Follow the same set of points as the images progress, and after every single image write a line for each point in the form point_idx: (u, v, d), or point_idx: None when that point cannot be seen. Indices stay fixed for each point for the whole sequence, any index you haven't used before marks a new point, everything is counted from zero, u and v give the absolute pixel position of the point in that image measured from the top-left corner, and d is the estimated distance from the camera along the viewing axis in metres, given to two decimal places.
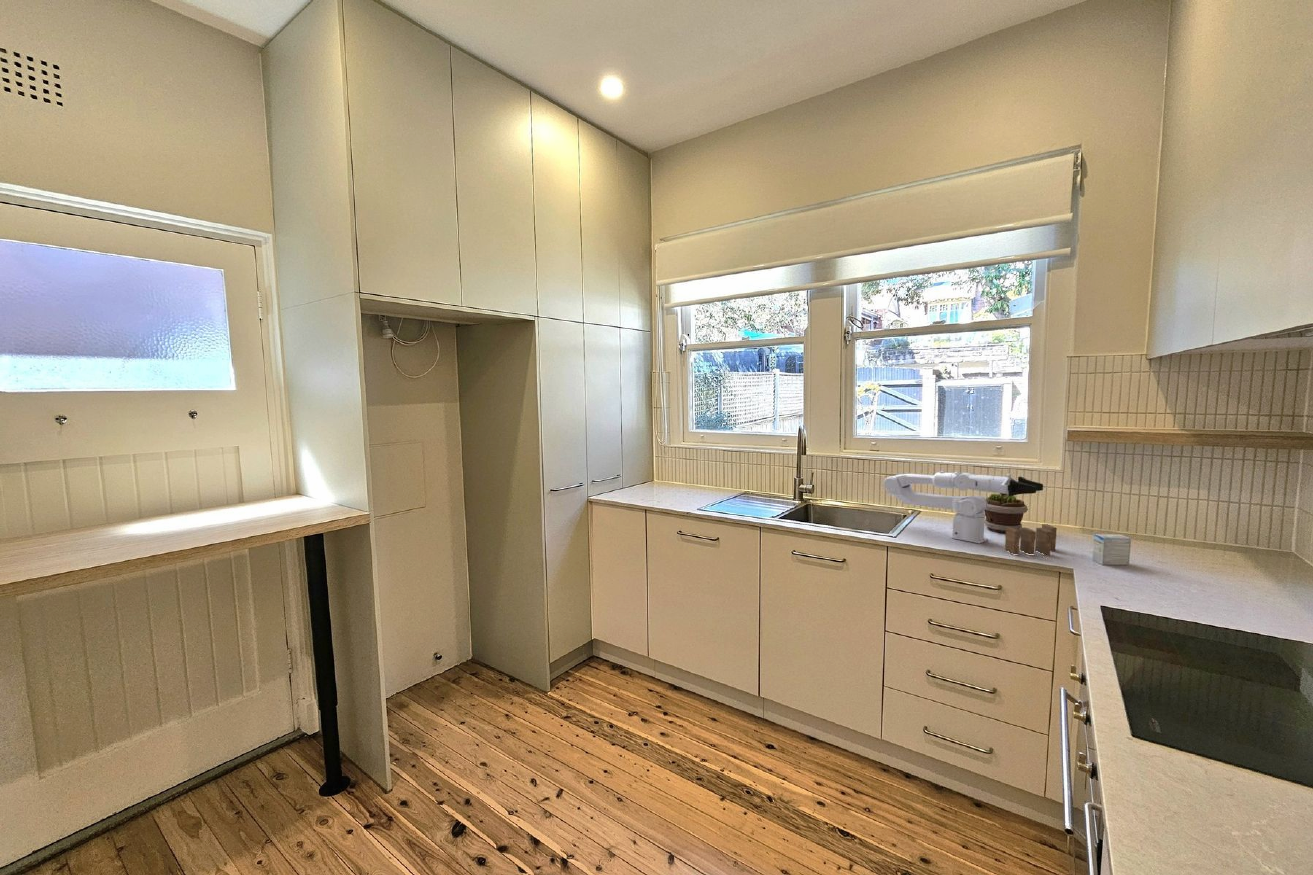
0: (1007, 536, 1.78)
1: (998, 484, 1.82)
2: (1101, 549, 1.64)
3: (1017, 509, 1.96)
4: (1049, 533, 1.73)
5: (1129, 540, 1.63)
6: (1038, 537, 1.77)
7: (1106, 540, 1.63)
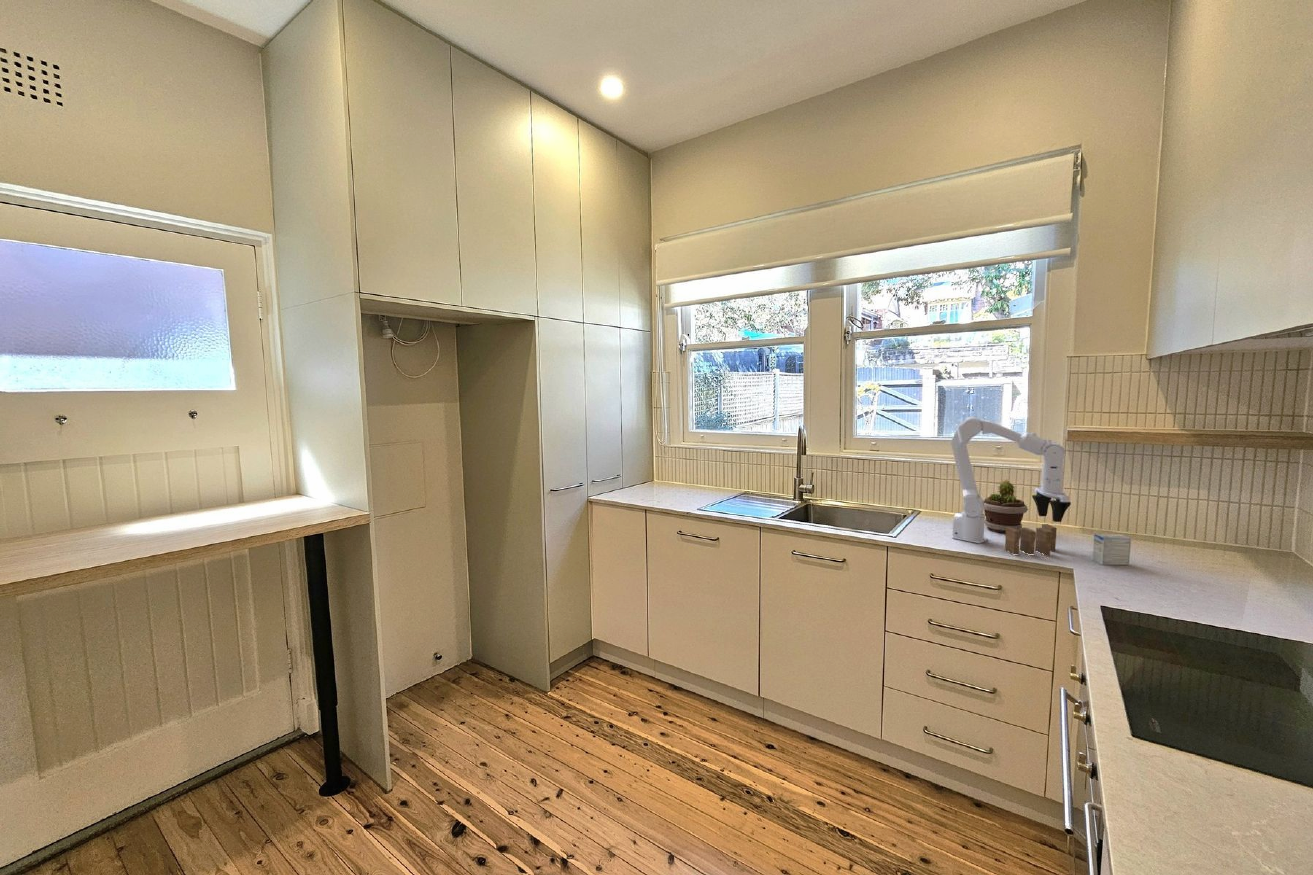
0: (1007, 536, 1.78)
1: (1058, 488, 1.76)
2: (1101, 549, 1.64)
3: (1017, 509, 1.96)
4: (1049, 533, 1.73)
5: (1129, 540, 1.63)
6: (1038, 537, 1.77)
7: (1106, 540, 1.63)
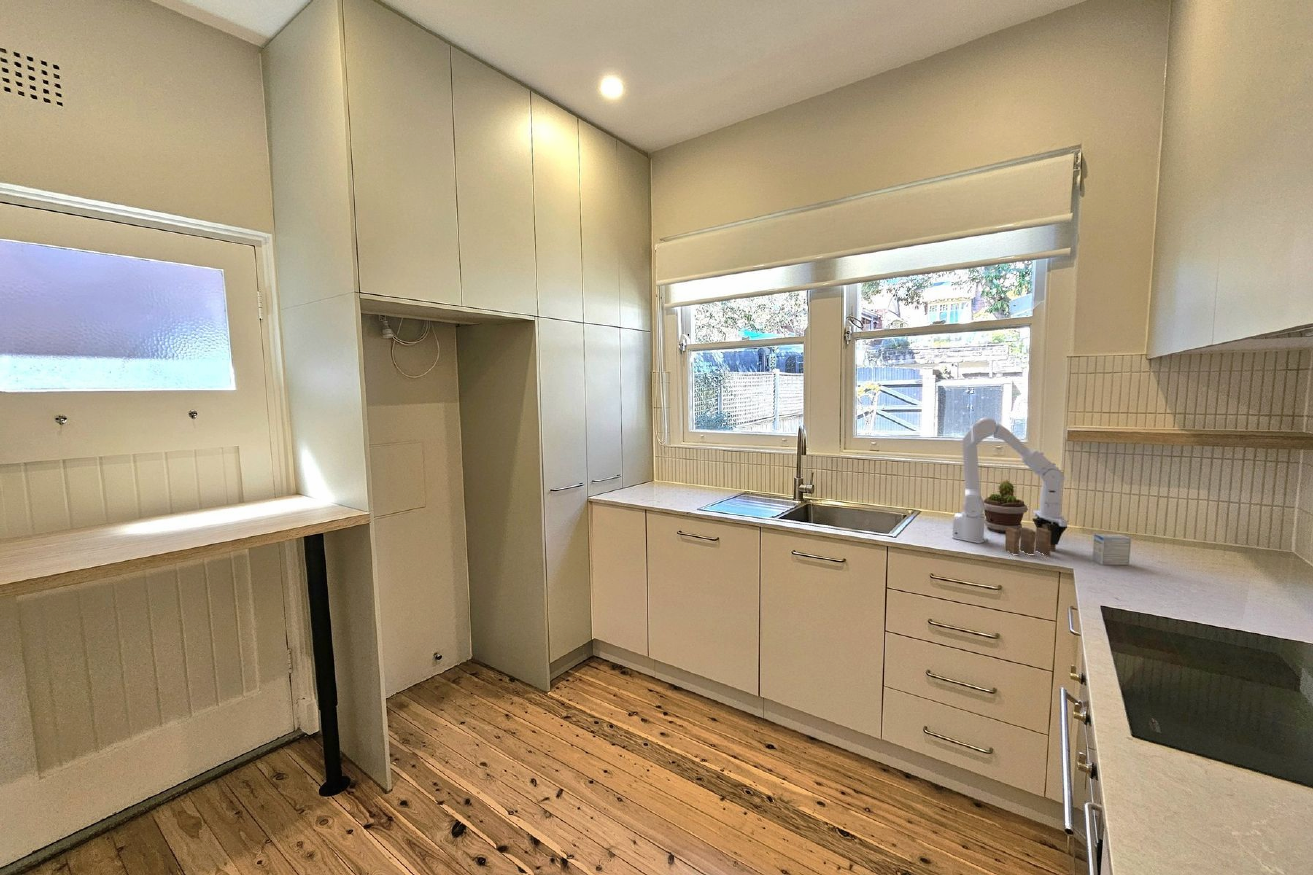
0: (1007, 536, 1.78)
1: (1057, 511, 1.77)
2: (1101, 549, 1.64)
3: (1017, 509, 1.96)
4: (1049, 533, 1.73)
5: (1129, 540, 1.63)
6: (1038, 537, 1.77)
7: (1106, 540, 1.64)
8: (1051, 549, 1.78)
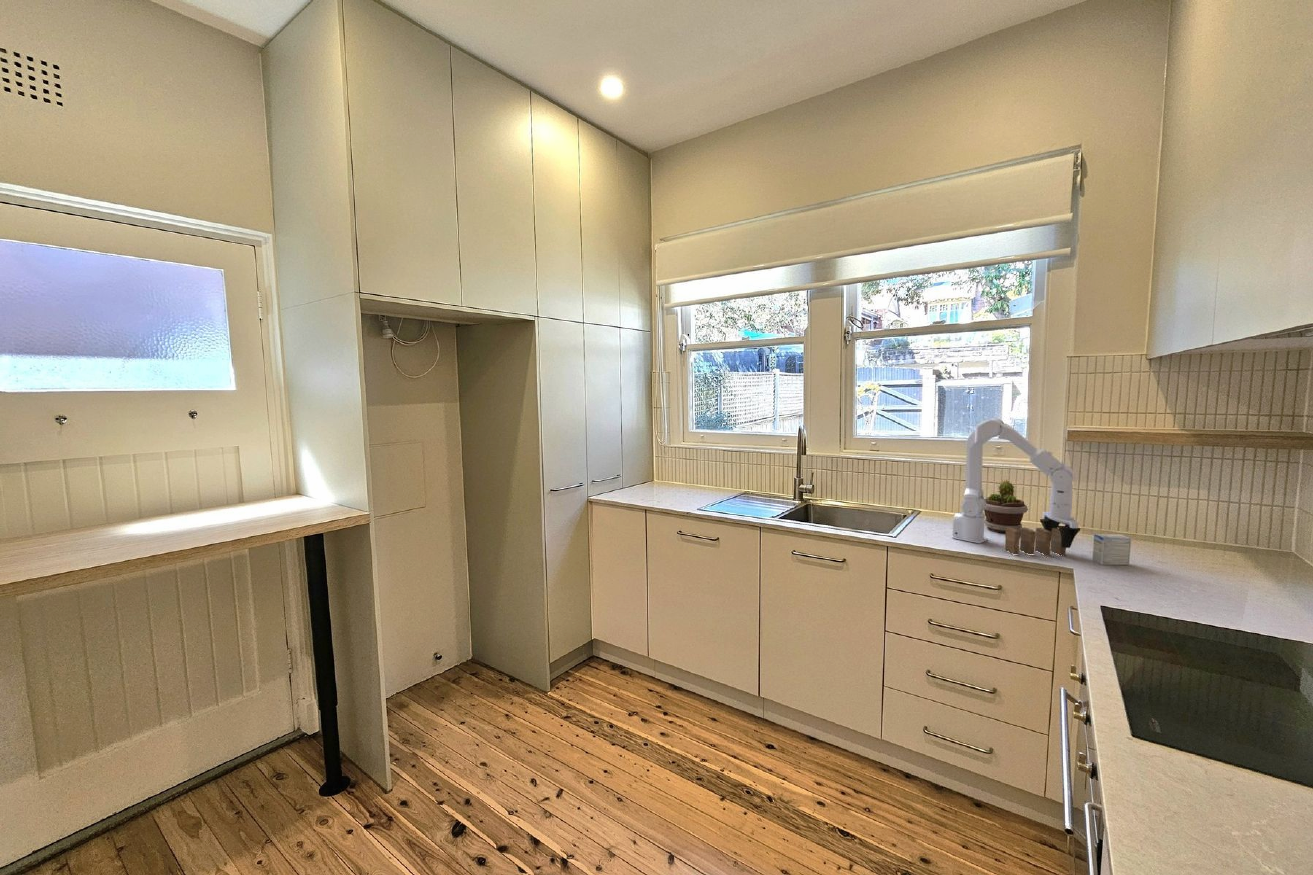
0: (1007, 536, 1.78)
1: (1067, 513, 1.72)
2: (1101, 549, 1.64)
3: (1017, 509, 1.96)
4: (1049, 533, 1.73)
5: (1129, 540, 1.63)
6: (1038, 537, 1.77)
7: (1106, 540, 1.64)
8: (1061, 554, 1.73)
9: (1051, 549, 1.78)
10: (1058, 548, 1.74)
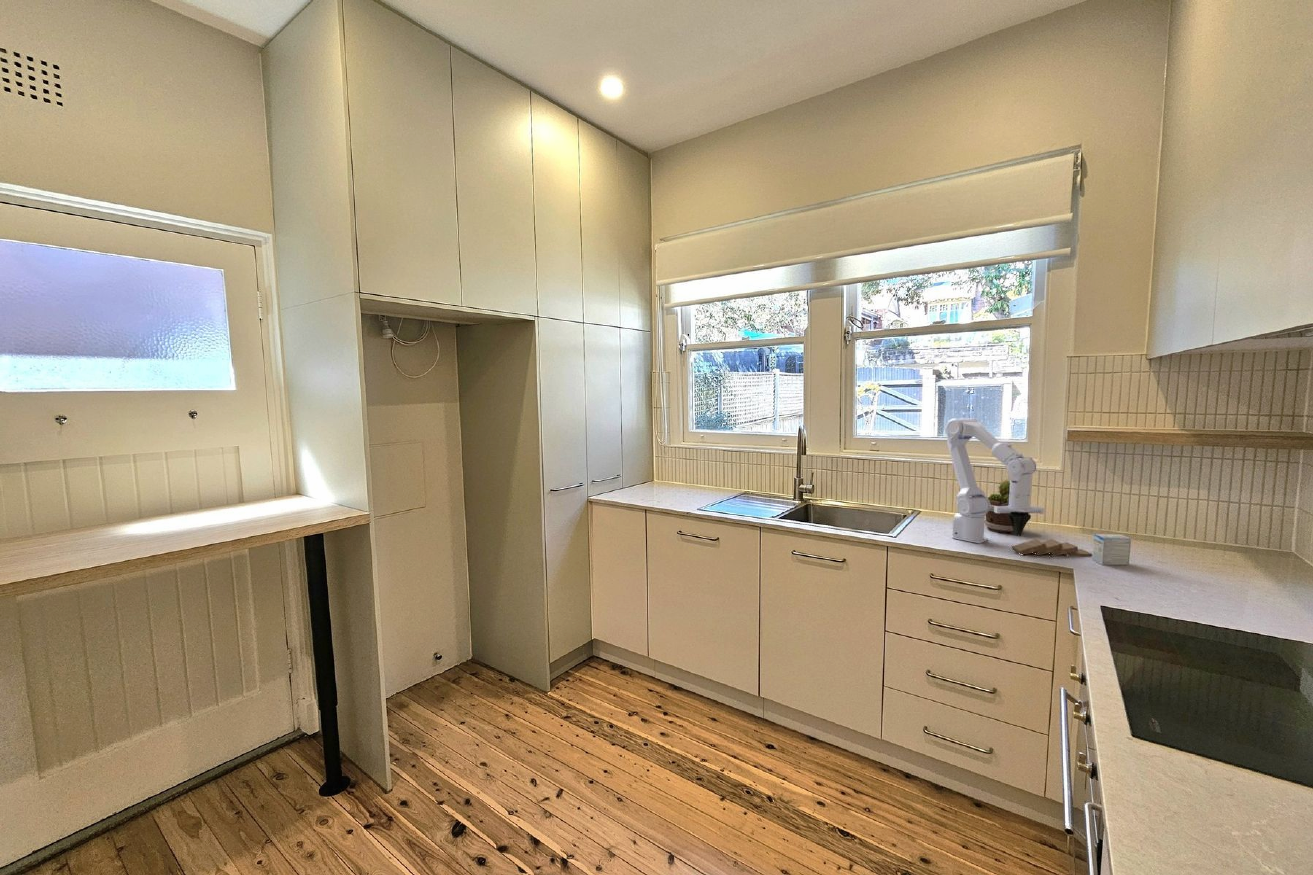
0: (1029, 542, 1.77)
1: (1011, 501, 1.75)
2: (1101, 549, 1.64)
3: None
4: (1076, 550, 1.73)
5: (1129, 540, 1.63)
6: None
7: (1106, 540, 1.63)
8: (1068, 554, 1.73)
9: None
10: (1072, 552, 1.74)
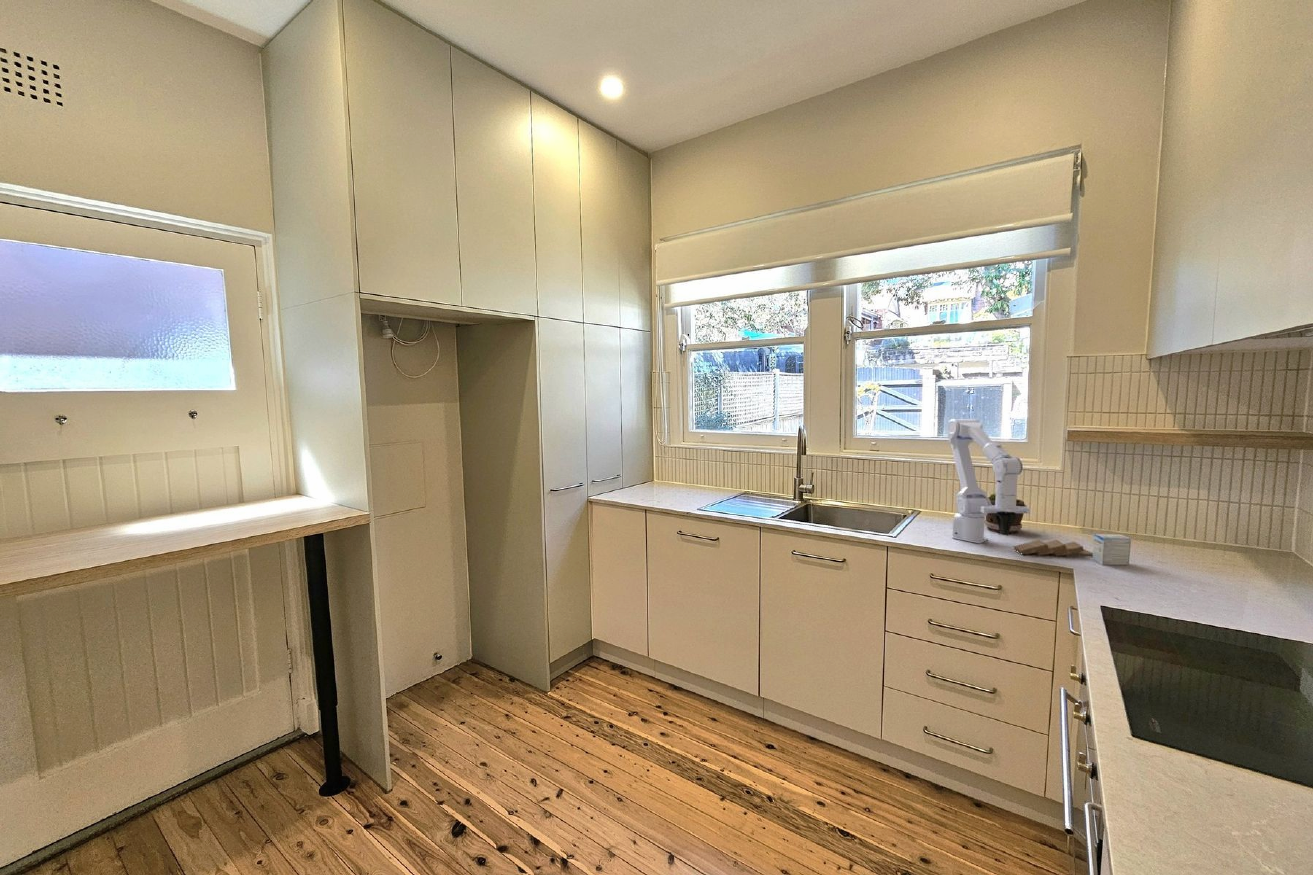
0: (1031, 542, 1.77)
1: (997, 501, 1.75)
2: (1101, 549, 1.64)
3: None
4: (1081, 550, 1.71)
5: (1129, 540, 1.63)
6: (1066, 544, 1.75)
7: (1106, 540, 1.63)
8: (1069, 554, 1.73)
9: None
10: None
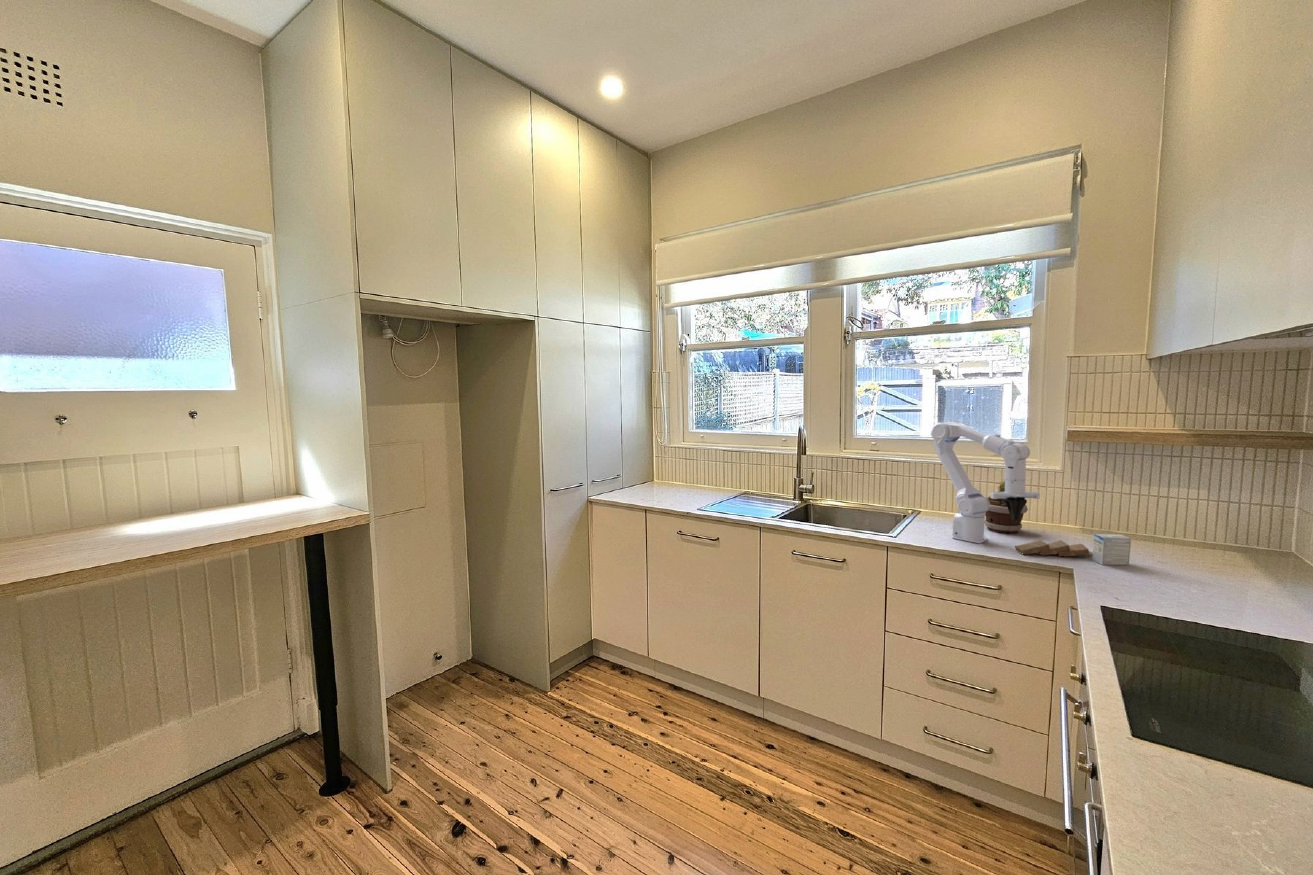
0: (1032, 543, 1.77)
1: (1006, 487, 1.78)
2: (1101, 549, 1.64)
3: None
4: (1086, 552, 1.70)
5: (1129, 540, 1.63)
6: (1072, 546, 1.74)
7: (1106, 540, 1.64)
8: None
9: None
10: None
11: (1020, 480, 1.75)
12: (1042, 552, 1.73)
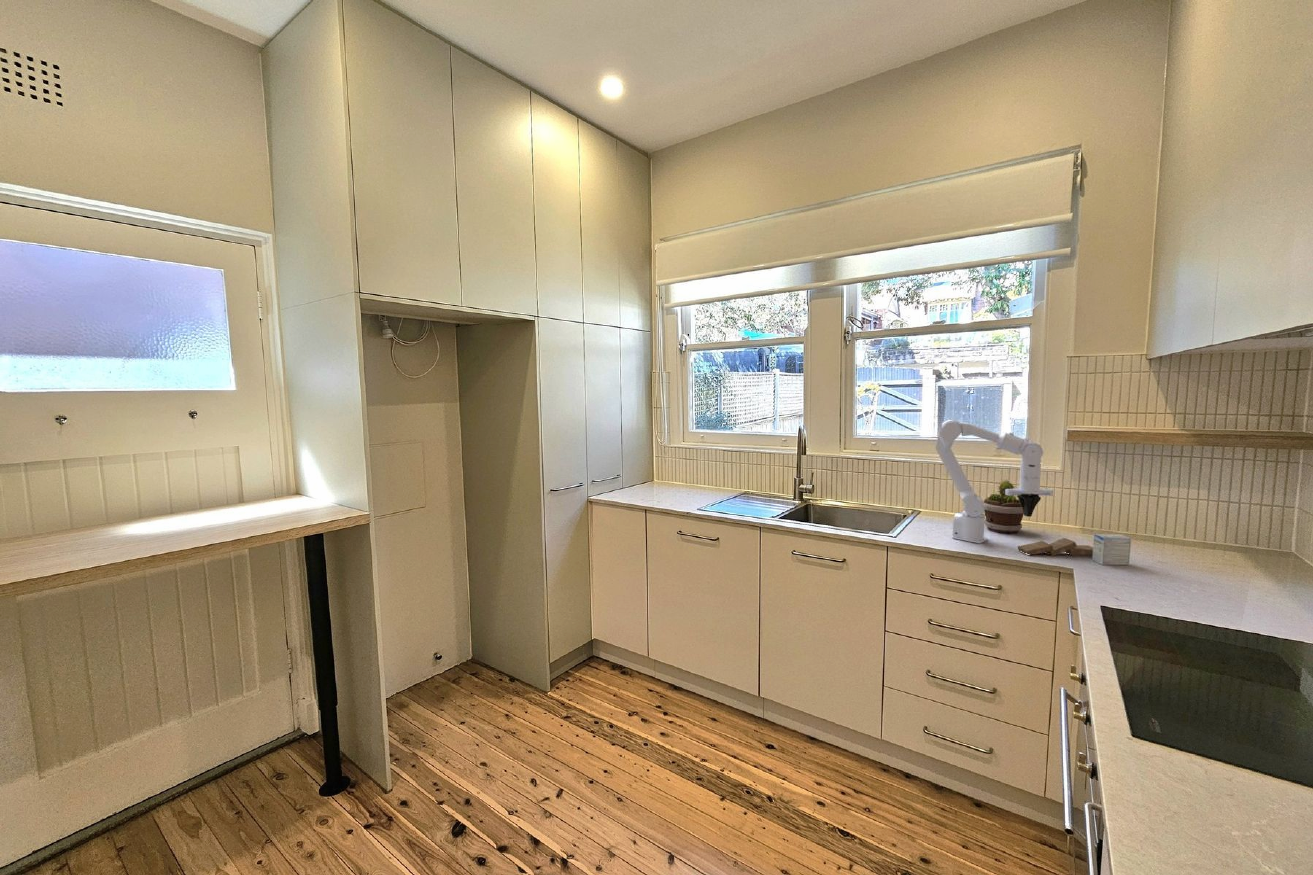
0: (1035, 543, 1.77)
1: (1021, 484, 1.83)
2: (1101, 549, 1.64)
3: (1017, 509, 1.96)
4: None
5: (1129, 540, 1.63)
6: (1081, 546, 1.75)
7: (1106, 540, 1.63)
8: (1074, 554, 1.73)
9: None
10: None
11: (1035, 478, 1.80)
12: (1052, 552, 1.73)
